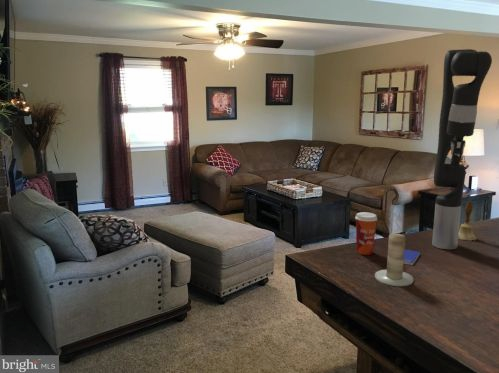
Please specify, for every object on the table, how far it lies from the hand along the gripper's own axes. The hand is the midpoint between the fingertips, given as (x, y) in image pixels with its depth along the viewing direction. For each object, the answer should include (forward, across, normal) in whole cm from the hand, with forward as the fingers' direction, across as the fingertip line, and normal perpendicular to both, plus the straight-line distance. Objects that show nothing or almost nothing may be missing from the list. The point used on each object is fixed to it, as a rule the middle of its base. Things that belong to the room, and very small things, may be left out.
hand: (453, 170), depth 134 cm
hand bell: (+39, -42, +10) cm, 58 cm away
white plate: (+35, +14, -13) cm, 40 cm away
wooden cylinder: (+35, +14, -13) cm, 39 cm away
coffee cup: (+38, -7, -26) cm, 47 cm away
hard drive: (+38, -7, -11) cm, 40 cm away
